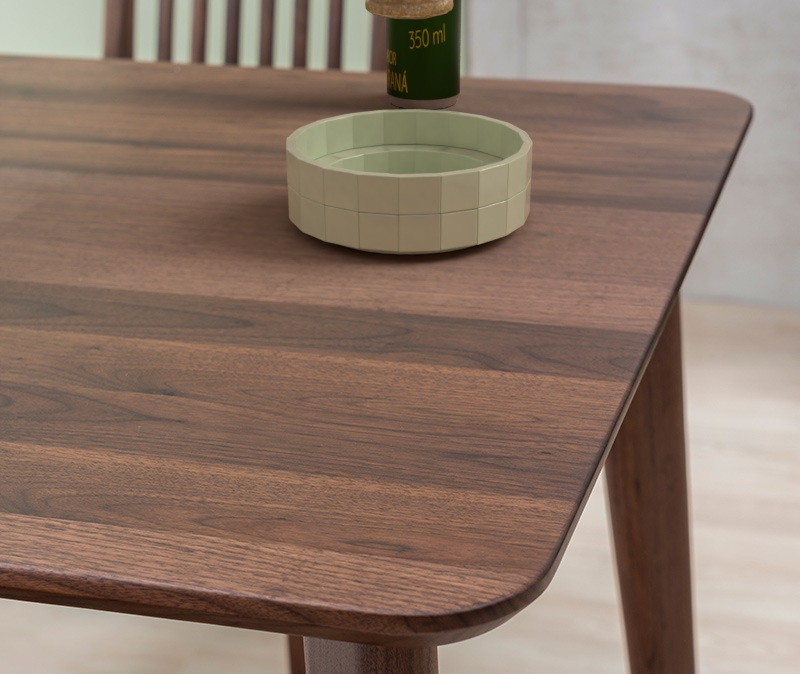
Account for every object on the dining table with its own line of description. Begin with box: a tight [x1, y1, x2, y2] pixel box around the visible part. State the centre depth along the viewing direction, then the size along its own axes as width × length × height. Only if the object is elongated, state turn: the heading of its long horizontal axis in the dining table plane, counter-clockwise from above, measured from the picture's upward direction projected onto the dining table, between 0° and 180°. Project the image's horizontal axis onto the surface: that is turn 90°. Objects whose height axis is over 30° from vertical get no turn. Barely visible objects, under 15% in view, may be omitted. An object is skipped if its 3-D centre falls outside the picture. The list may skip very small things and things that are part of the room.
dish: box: [285, 108, 534, 255], centre depth 68 cm, size 13×13×4 cm
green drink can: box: [385, 0, 462, 110], centre depth 90 cm, size 5×5×12 cm
